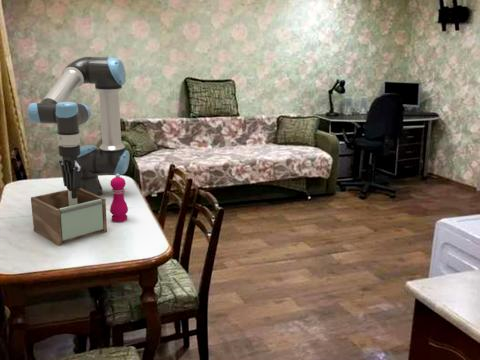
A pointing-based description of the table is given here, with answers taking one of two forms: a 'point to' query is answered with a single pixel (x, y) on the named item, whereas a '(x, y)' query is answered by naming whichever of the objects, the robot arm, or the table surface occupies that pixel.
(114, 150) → the robot arm
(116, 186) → the pepper mill
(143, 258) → the table surface
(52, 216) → the crate
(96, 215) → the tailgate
